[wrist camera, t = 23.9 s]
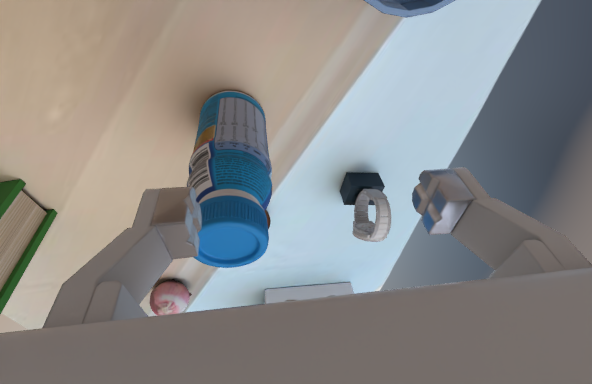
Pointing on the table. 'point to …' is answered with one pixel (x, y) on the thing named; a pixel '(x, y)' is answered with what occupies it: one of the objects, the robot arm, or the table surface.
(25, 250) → the hardback book
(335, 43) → the table surface
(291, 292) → the gable box
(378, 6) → the bowl
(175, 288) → the onion
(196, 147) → the beverage bottle
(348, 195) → the watch
